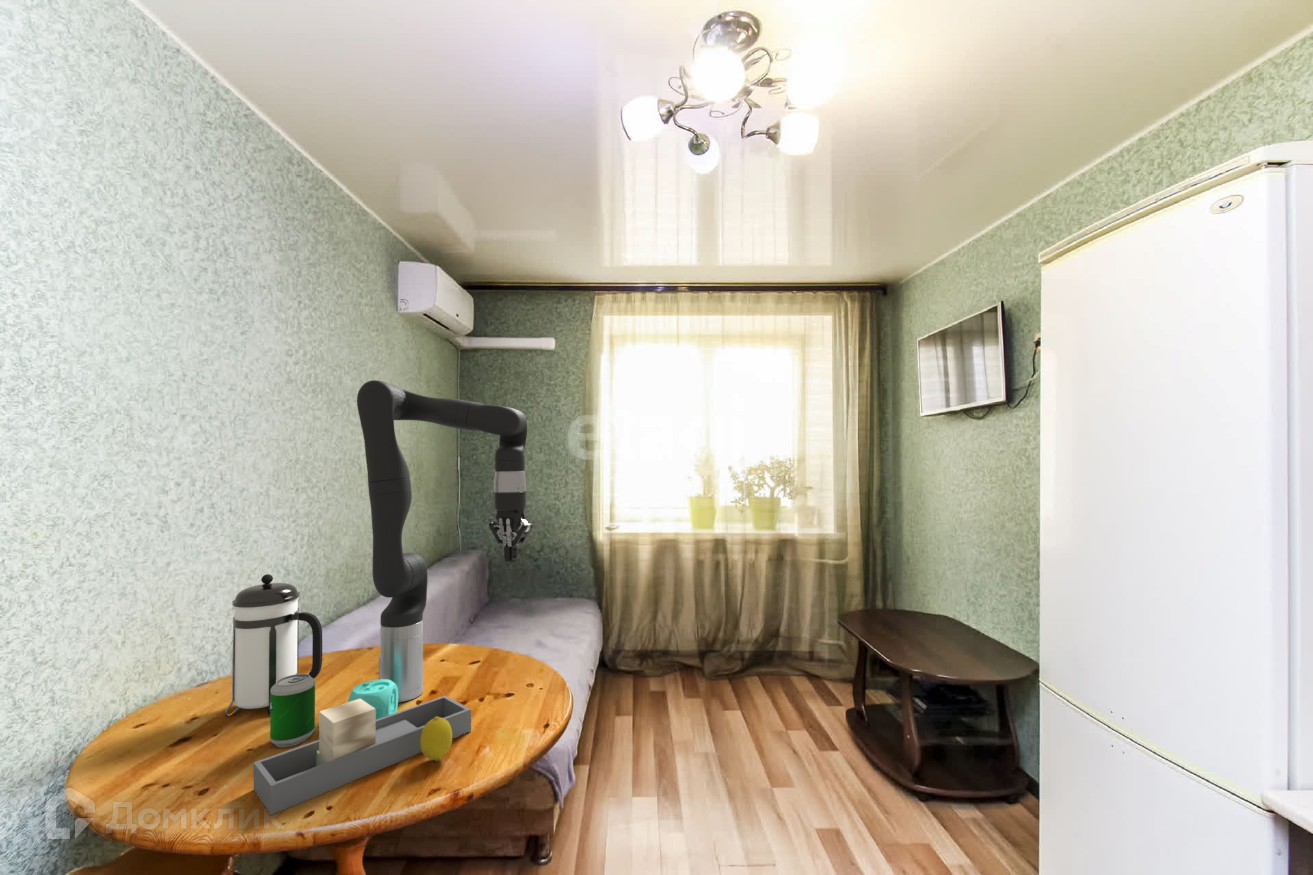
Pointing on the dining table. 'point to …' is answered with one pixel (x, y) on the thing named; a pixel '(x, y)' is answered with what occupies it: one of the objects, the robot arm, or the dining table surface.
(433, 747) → the lemon
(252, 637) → the coffee press
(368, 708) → the ash block
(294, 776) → the tray
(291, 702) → the soda can
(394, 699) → the decorative dice
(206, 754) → the dining table surface
